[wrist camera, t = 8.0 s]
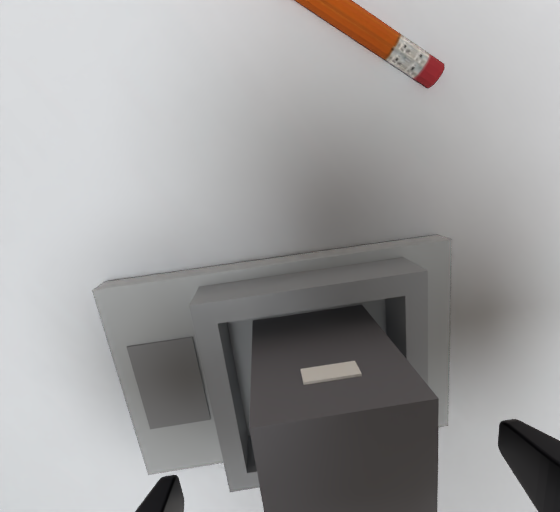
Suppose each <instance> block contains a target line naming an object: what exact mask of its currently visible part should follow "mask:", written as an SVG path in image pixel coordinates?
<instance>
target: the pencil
mask: <svg viewBox="0 0 560 512" xmlns="http://www.w3.org/2000/svg"><path fill="white" fill-rule="evenodd" d="M295 1H296V2H298V3H300V4H301V5H303V6H304V7H306V8H307V9H309V10H310V11H312V12H313V13H315V14H316V15H318V16H319V17H321V18H322V19H324V20H325V21H327V22H328V23H330V24H331V25H333V26H334V27H336V28H337V29H339V30H340V31H342V32H343V33H345V34H346V35H348V36H349V37H351V38H352V39H354V40H355V41H357V42H358V43H360V44H361V45H363V46H365V47H366V48H368V49H369V50H371V51H372V52H374V53H375V54H377V55H378V56H380V57H381V58H383V59H384V60H386V61H387V62H389V63H390V64H392V65H393V66H395V67H396V68H398V69H399V70H401V71H402V72H404V73H405V74H407V75H408V76H410V77H411V78H413V79H414V80H416V81H417V82H419V83H420V84H422V85H423V86H425V87H427V88H429V87H431V86H432V85H434V84H435V82H436V81H437V80H438V79H439V77H440V76H441V74H442V73H443V70H444V64H443V63H442V62H441V61H439V60H438V59H436V58H435V57H433V56H432V55H430V54H429V53H427V52H426V51H425V50H423V49H422V48H420V47H419V46H417V45H416V44H414V43H413V42H411V41H410V40H409V39H407V38H406V37H404V36H403V35H401V34H400V33H398V32H397V31H395V30H394V29H392V28H391V27H390V26H388V25H387V24H385V23H384V22H382V21H381V20H379V19H378V18H376V17H375V16H374V15H372V14H371V13H369V12H368V11H366V10H365V9H363V8H362V7H360V6H359V5H358V4H356V3H355V2H353V1H352V0H295Z"/></svg>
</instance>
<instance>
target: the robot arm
mask: <svg viewBox="0 0 560 512" xmlns="http://www.w3.org/2000/svg"><path fill="white" fill-rule="evenodd" d="M498 446H499V450H500V452H501V454H502V456H503V457H504V459H505V460H506V462H507V464H508V465H509V467H510V468H511V470H512V471H513V473H514V474H515V476H516V478H517V479H518V481H519V482H520V484H521V485H522V487H523V489H524V490H525V492H526V493H527V495H528V496H529V498H530V499H531V501H532V503H533V504H534V506H535V507H536V509H537V510H538V512H560V441H559V440H557V439H555V438H553V437H551V436H549V435H547V434H545V433H543V432H541V431H539V430H537V429H535V428H533V427H531V426H529V425H527V424H525V423H523V422H521V421H519V420H517V419H511V420H505V421H501V423H500V425H499V437H498ZM135 512H184V496H183V493H182V489H181V485H180V482H179V478H178V476H177V475H171V476H165V477H162V478H161V479H160V480H159V481H158V482H157V483H156V485H155V486H154V487H153V489H152V490H151V491H150V493H149V494H148V495H147V497H146V498H145V499H144V501H143V502H142V503H141V505H140V506H139V507H138V509H137V510H136V511H135Z"/></svg>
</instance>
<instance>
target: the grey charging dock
mask: <svg viewBox="0 0 560 512" xmlns="http://www.w3.org/2000/svg"><path fill="white" fill-rule="evenodd" d="M450 289H451V239H449V238H446V237H443V236H440V235H431V236H424V237H417V238H410V239H403V240H396V241H389V242H382V243H375V244H368V245H360V246H353V247H346V248H339V249H332V250H325V251H318V252H311V253H304V254H297V255H290V256H282V257H275V258H268V259H261V260H254V261H247V262H240V263H233V264H226V265H219V266H212V267H205V268H197V269H190V270H183V271H176V272H169V273H162V274H155V275H148V276H141V277H134V278H127V279H119V280H112V281H105V282H103V283H102V284H101V285H99V286H98V287H96V288H95V289H93V290H92V292H93V295H94V298H95V302H96V305H97V308H98V311H99V315H100V318H101V321H102V325H103V328H104V331H105V334H106V338H107V341H108V344H109V348H110V351H111V354H112V357H113V361H114V364H115V367H116V371H117V374H118V377H119V380H120V384H121V387H122V390H123V394H124V397H125V400H126V403H127V407H128V410H129V413H130V417H131V420H132V423H133V426H134V430H135V433H136V436H137V440H138V443H139V446H140V449H141V453H142V456H143V459H144V463H145V466H146V469H147V472H148V475H151V474H157V473H163V472H169V471H176V470H182V469H188V468H194V467H200V466H206V465H212V464H218V463H224V467H225V471H226V476H227V480H228V485H229V489H230V492H234V491H240V490H246V489H252V488H258V487H260V485H259V480H258V474H257V469H256V463H255V458H254V452H253V446H252V441H251V435H250V430H249V421H250V389H251V357H252V325H253V320H259V319H266V318H273V317H280V316H287V315H294V314H301V313H308V312H315V311H322V310H329V309H335V308H342V307H349V306H356V305H363V306H364V308H365V309H366V310H367V311H368V313H369V314H370V315H371V316H372V317H373V319H374V320H375V321H376V322H377V324H378V325H379V326H380V327H381V328H382V330H383V331H384V332H385V333H386V335H387V336H388V337H389V338H390V339H391V341H392V342H393V343H394V344H395V346H396V347H397V348H398V349H399V351H400V352H401V353H402V354H403V355H404V357H405V358H406V359H407V360H408V362H409V363H410V364H411V365H412V366H413V368H414V369H415V370H416V371H417V373H418V374H419V375H420V376H421V378H422V379H423V380H424V381H425V382H426V384H427V385H428V386H429V387H430V389H431V390H432V391H433V392H434V393H435V395H436V396H437V397H438V398H439V414H438V427H442V426H448V395H449V342H450Z"/></svg>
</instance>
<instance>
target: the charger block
mask: <svg viewBox="0 0 560 512" xmlns="http://www.w3.org/2000/svg"><path fill="white" fill-rule="evenodd" d="M438 414H439V398H438V397H437V396H436V395H435V393H434V392H433V391H432V390H431V389H430V387H429V386H428V385H427V384H426V382H425V381H424V380H423V379H422V378H421V376H420V375H419V374H418V373H417V371H416V370H415V369H414V368H413V366H412V365H411V364H410V363H409V362H408V360H407V359H406V358H405V357H404V355H403V354H402V353H401V352H400V351H399V349H398V348H397V347H396V346H395V344H394V343H393V342H392V341H391V339H390V338H389V337H388V336H387V335H386V333H385V332H384V331H383V330H382V328H381V327H380V326H379V325H378V324H377V322H376V321H375V320H374V319H373V317H372V316H371V315H370V314H369V313H368V311H367V310H366V309H365V308H364V306H363V305H356V306H349V307H342V308H335V309H329V310H322V311H315V312H308V313H301V314H294V315H287V316H280V317H273V318H266V319H259V320H253V325H252V357H251V389H250V421H249V430H250V435H251V441H252V446H253V452H254V458H255V463H256V469H257V474H258V480H259V485H260V491H261V496H262V502H263V507H264V512H437V486H438Z"/></svg>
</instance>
